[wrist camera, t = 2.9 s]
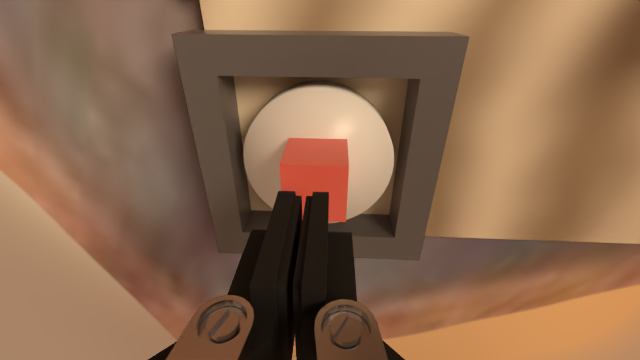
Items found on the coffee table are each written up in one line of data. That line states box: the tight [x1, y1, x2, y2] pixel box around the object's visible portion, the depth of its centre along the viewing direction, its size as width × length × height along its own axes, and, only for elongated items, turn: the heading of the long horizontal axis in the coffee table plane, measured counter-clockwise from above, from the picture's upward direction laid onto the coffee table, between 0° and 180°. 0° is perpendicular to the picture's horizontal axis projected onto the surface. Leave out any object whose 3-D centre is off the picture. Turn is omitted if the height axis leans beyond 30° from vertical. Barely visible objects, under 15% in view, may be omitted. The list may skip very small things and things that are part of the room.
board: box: [200, 0, 640, 244], centre depth 14 cm, size 24×19×1 cm
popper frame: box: [172, 30, 470, 260], centre depth 15 cm, size 11×11×2 cm
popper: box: [243, 81, 394, 224], centre depth 14 cm, size 7×7×4 cm
